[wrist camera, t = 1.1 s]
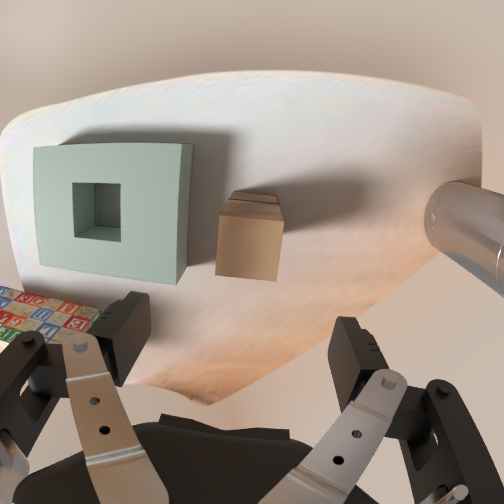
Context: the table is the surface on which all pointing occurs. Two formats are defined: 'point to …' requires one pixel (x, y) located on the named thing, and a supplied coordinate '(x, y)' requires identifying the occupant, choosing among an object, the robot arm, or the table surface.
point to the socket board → (132, 209)
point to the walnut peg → (249, 237)
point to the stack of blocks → (41, 317)
